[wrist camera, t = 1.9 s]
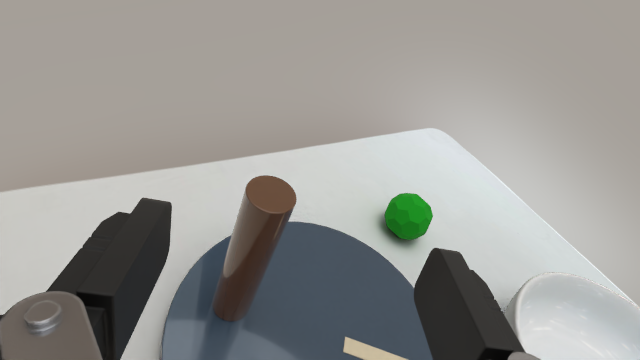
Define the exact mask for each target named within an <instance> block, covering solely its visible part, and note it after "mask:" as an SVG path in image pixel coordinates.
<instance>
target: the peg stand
mask: <svg viewBox="0 0 640 360" xmlns="http://www.w3.org/2000/svg"><path fill="white" fill-rule="evenodd" d="M295 204H296V194H295V192H294V190H293V188H292V187H291V186H290V185H289V184H288V183H287V182H285V181H283V180H282V179H279V178H277V177H273V176H258V177H255V178H253V179H252V180H251V181H250V182H249V183H248V184H247V186H246V189H245V192H244V196H243V199H242V202H241V206H240V209H239V213H238V216H237V219H236V223H235V226H234V229H233V233H232V235H231V236H229V237H227V238H225V239H224V240H222V241H221V242H219V243H218V244H216V245H215V246H213V247H212V248H211V249H210V250H209V251H208V252H207V253H205V254H204V255H203V256H202V257H201V258H200V259H199V260H198V261H197V262H196V264H195V265H194V266H193V267H192V268H191V269H190V271H189V272H188V274H187V275H186V277H185V278H184V280H183V281H182V283H181V284H180V286H179V288H178V290H177V292H176V294H175V296H174V298H173V300H172V303H171V306H170V309H169V312H168V315H167V318H166V322H165V327H164V333H163V339H162V345H161V352H160V360H433V358H432V355H431V352H430V349H429V346H428V343H427V339H426V336H425V333H424V330H423V327H422V324H421V321H420V318H419V315H418V312H417V309H416V306H415V302H414V288H413V286H412V285H411V284H410V283H409V282H408V280H407V279H406V278H405V277H404V276H403V275H402V274H401V273H400V272H399V271H398V270H397V269H396V268H395V267H394V266H393V265H392V264H391V263H390V262H389V261H388V260H387V259H385V258H384V257H383V256H382V255H381V254H379V253H378V252H376V251H375V250H374V249H372V248H371V247H369V246H368V245H366V244H364V243H363V242H361V241H359V240H357V239H356V238H354V237H352V236H349V235H347V234H345V233H343V232H340V231H337V230H334V229H331V228H328V227H325V226H321V225H316V224H312V223H304V222H288V220H289V218H290V216H291V213H292V211H293V209H294V207H295Z"/></svg>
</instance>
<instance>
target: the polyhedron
mask: <svg viewBox="0 0 640 360" xmlns="http://www.w3.org/2000/svg"><path fill="white" fill-rule="evenodd" d="M432 217H433V215H432V211H431V207H430V206H429V205H428V204H427V203H426V202H425V201H424V200H423V199H422V198H421V197H419V196H418V195H417V194H410V193H404V194H399V195H398V196H396V197H394V198H393V199H392V200H391V201H390V203H389V205H388V207H387V210H386V212H385V219H386V224H387V226H388V228H389V229H390V230H392V231H393V232H394V233H395V234H396V235H397V236H398V237H399V238H402V239H408V240H411V239H416V238H418V237H420V236H422V235H424V234H425V233H426V231H427V229H428V227H429V224H430V222H431V220H432Z"/></svg>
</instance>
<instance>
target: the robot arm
mask: <svg viewBox="0 0 640 360" xmlns="http://www.w3.org/2000/svg"><path fill="white" fill-rule="evenodd" d="M171 211H172V206H171V203H170V202H166V201H160V200H154V199H148V198H142V199H141V200H140V201H139V203H138V204H137V206H136V207H135V208H134V210H133V211H132V213H131V214H129V213H123V212H118V213H116V214H114V215H113V216H111V217H109V218H107V219H106V220H104V221H102V222H101V224H100V225H99V226H98V227H97V229H96V230H95V231H94V232H93V234H92V236H91V237H89V239H88V240H87V241H86V242H85V244H84V245H83V248H81V249H80V250H79V251H78V252H77V254H76V255H75V256H74V257H73V259H72V260H71V261H70V262H69V264H68V265H67V266H66V267H65V269H64V270H63V271H62V272H61V274H60V275H59V276H58V277H57V279H56V280H55V281H54V282H53V284H52V285H51V286H50V287H49V289H48V290H47V291H46V292H43V293H39V294H36V295H33V296H30V297H28V298H25V299H23V300H22V301H20V302H18V303H17V304H15V305H14V306H12V307H11V308H10V309H9V310H8V311H7V312H6V313H5V314H4V315H0V360H120V358H121V356H122V354H123V352H124V350H125V348H126V346H127V344H128V341H129V339H130V337H131V335H132V333H133V331H134V329H135V327H136V324H137V322H138V320H139V318H140V316H141V314H142V312H143V310H144V308H145V305H146V303H147V301H148V299H149V297H150V295H151V293H152V291H153V288H154V286H155V284H156V282H157V280H158V278H159V276H160V274H161V272H162V269H163V267H164V265H165V262H166V259H167V256H168V252H169V246H170V229H171ZM414 302H415V306H416V309H417V312H418V315H419V318H420V321H421V324H422V327H423V330H424V333H425V336H426V339H427V343H428V346H429V349H430V352H431V355H432V358H433V360H541V359H539V358H537V357H535V356H533V355H531V354H528V353H526V352H525V350H524V349H523V347H522V345H521V343H520V342H519V340H518V338H517V336H516V335H515V333H514V331H513V329H512V328H511V326H510V324H509V322H508V321H507V319H506V317H505V315H504V314H503V312H502V311H500V309H501V308H500V307H499V305H498V303H497V301H496V300H494V296H493V294H492V293H491V291H490V289H489V288H488V286H487V284H486V283H485V282H484V281H483V280H482V279H481V278H480V277H479V276H478V275H477V274H476V273H475V272H474V271H473V270H470V269H469V267H468V265H467V264H466V262H465V260H464V258H463V256H462V255H461V253H460V252H457V251H451V250H445V249H439V248H434V249H433V250H432V251H431V252H430V254H429V256H428V258H427V260H426V263H425V265H424V267H423V269H422V271H421V273H420V275H419V277H418V279H417V281H416V284H415V288H414Z"/></svg>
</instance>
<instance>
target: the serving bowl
mask: <svg viewBox="0 0 640 360" xmlns="http://www.w3.org/2000/svg"><path fill="white" fill-rule="evenodd" d="M504 315H505V317H506V319H507V321H508V322H509V324H510V326H511V328H512V329H513V331H514V333H515V335H516V336H517V338H518V340H519V342H520V343H521V345H522V347H523V349H524V350H525V352H526V353H528V354H531V355H533V356H535V357H537V358H539V359H541V360H640V307H638V306H637V305H635V304H634V303H632V302H631V301H629V300H628V299H626V298H625V297H623V296H621V295H619V294H618V293H616V292H614V291H613V290H611V289H609V288H607V287H605V286H603V285H601V284H598V283H596V282H594V281H592V280H589V279H586V278H583V277H580V276H576V275H572V274H567V273H560V272H552V273H543V274H540V275H537V276H535V277H533V278H531V279H529V280H528V281H527V282H526V283H525V284H524V285H523V286H522V287H521V288H520V289H519V291H518V292H517V293H516V294H515V296H514V297H513V299H512V300H511V302H510V303H509V305H508V307H507V309H506V311H505V313H504Z"/></svg>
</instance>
